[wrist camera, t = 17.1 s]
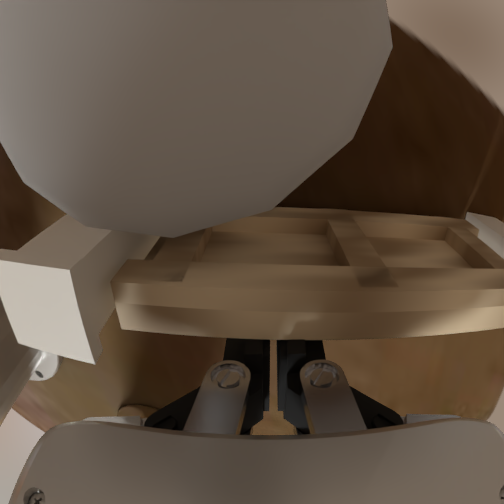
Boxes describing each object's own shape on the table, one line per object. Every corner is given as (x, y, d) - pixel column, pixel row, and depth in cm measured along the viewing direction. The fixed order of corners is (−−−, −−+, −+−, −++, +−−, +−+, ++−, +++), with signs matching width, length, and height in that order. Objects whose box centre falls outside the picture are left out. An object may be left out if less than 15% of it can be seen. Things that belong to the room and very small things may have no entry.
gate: (463, 217, 14) (546, 286, 8) (456, 246, 15) (530, 323, 9) (173, 203, 15) (110, 281, 8) (176, 236, 16) (121, 328, 9)
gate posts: (123, 227, 16) (18, 343, 8) (118, 148, 15) (-22, 212, 6) (485, 258, 16) (575, 355, 8) (504, 194, 14) (617, 270, 6)
